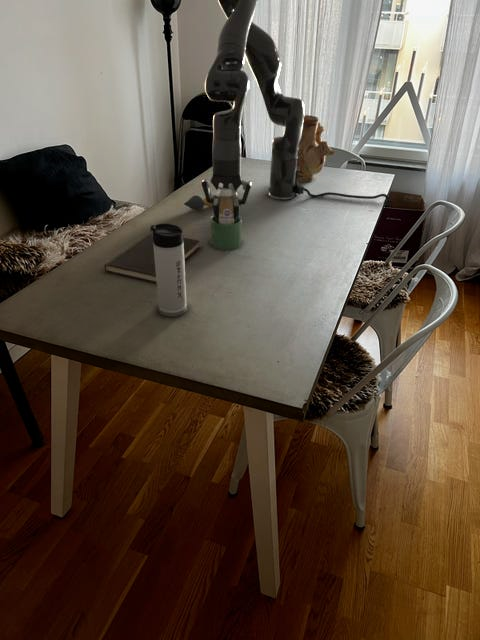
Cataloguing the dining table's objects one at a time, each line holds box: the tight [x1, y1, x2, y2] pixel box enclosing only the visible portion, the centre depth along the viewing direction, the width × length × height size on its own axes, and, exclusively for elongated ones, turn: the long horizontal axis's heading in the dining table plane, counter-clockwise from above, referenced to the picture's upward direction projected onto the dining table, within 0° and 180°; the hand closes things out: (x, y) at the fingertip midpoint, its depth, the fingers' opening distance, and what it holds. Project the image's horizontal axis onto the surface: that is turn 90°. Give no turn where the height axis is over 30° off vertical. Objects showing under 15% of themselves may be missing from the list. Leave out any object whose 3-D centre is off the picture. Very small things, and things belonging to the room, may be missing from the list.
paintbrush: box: [183, 194, 216, 211], centre depth 160 cm, size 20×5×5 cm, turn 134°
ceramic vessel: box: [297, 113, 335, 182], centre depth 183 cm, size 18×19×25 cm
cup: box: [209, 215, 243, 251], centre depth 134 cm, size 9×9×8 cm
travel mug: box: [149, 223, 188, 318], centre depth 100 cm, size 6×7×20 cm
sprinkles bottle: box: [219, 188, 235, 224], centre depth 131 cm, size 5×5×13 cm
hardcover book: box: [104, 231, 201, 284], centre depth 126 cm, size 16×23×2 cm
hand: (226, 217), depth 132 cm, fingers closed on sprinkles bottle, 4 cm apart
